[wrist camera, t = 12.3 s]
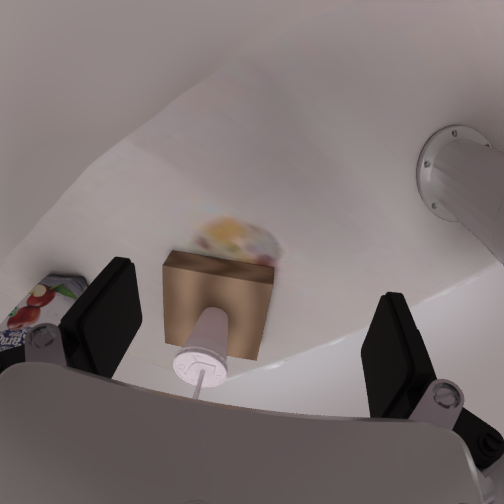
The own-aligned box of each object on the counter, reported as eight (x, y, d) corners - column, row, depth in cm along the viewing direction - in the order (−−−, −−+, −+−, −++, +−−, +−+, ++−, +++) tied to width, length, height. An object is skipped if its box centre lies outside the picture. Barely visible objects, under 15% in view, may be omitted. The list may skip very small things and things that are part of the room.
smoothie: (247, 325, 43) (233, 411, 31) (210, 340, 45) (187, 420, 33) (220, 291, 41) (194, 376, 28) (182, 309, 43) (149, 389, 30)
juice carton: (102, 315, 51) (27, 440, 27) (59, 309, 52) (-18, 415, 28) (88, 271, 47) (-10, 397, 23) (43, 269, 48) (-51, 374, 24)
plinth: (274, 267, 43) (273, 284, 39) (258, 342, 50) (256, 360, 46) (172, 250, 43) (162, 265, 40) (172, 326, 50) (165, 342, 46)
